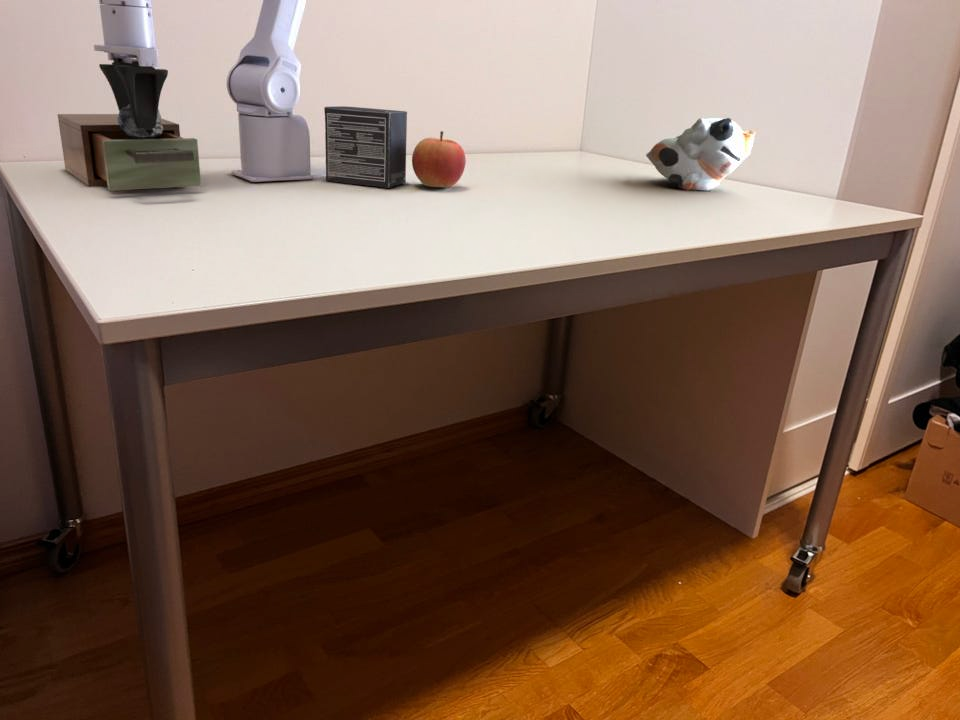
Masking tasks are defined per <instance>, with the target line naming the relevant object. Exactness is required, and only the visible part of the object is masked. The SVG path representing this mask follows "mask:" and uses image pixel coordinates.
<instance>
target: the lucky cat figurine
mask: <svg viewBox="0 0 960 720" xmlns="http://www.w3.org/2000/svg"><path fill="white" fill-rule="evenodd" d="M755 135H756V131H753V130H747V131H745V130H744V131H743V130H742V128H741V127H740V125H739V124H737V122H735V121H733V120H732V118H730V117H720V118H715V117H709V118H702V117H700V118H698V119H697V120H696V121H695V123H693V124H692V126H691V127H688V128H686V129H684V131H683V132H682V134H679V135H678V136H675V137H674V138H673V137H672V138H671V137H670V138H665V139H662V140H660V141H659V142H657V143H656V144H654V146H653V147H651V149H650V150H649V152H647V153H646V154H645V156H646V158H647V159H648V160H649V161H650V163H651V164H652V165H653V166H654V168H655V169H656V171H657V172H658V173H659V174H660V175H661V176H663V177H664V178H665V179H667V180H668V181H669V182H673V183H676V185H677V187H678V188H679V189H682V190H686V191H712V190H713V189H714V188H716V187H717V186H719V185H720V183H721V181H722V180H723V179H724V178H726V177H727V176H728V175H731V173H732V172H733V171H734V170H735V169H737V167H739V166H740V164H741V163H742V162H743V161H744V160H745V159H746V158H747V157H748V156H750V154H751V150H752V148H753V143H754V140H755Z"/></svg>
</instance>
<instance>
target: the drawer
mask: <svg viewBox="0 0 960 720" xmlns="http://www.w3.org/2000/svg"><path fill="white" fill-rule="evenodd" d="M146 132H153V131H146ZM88 135H89V142H90V150H91V157H92V165H93V173H94V174H96V175H97V176H99V177H100V178H102V179H104V180H105V181H107V189H108V190H109V191H111V192H112V191H127V190H128V191H129V190H148V189H163V188H165V189H166V188H167V189H168V188H184V187H201V186H202V183H201V182H202V181H201V169H200V156H199V155H200V154H199V144H198V139H197V138H195V137H185V138H184V137H182V136H180V137H179V136H177V135H174V134H171V133H169V132H166V131H162V134H161V135H155V136H153V137H142V138H141V137H135V136H129V135H127V134H126V133H125V131H88Z"/></svg>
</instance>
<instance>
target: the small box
mask: <svg viewBox="0 0 960 720" xmlns="http://www.w3.org/2000/svg"><path fill="white" fill-rule="evenodd" d="M323 110H324V129H325V133H324V134H325V135H324V138H325V181H326V182H334V183H341V184H348V185H349V184H351V185H358V186H367V187H377V188H384V189H389V188H393V187H395V186H399V185H402V184H406V182H407V181H406V180H407V179H406V178H407V131H408V129H407V128H408V111H407V110H394V109H381V108H370V107H358V106H344V105H343V106H341V105H340V106H324V109H323Z"/></svg>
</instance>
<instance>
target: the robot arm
mask: <svg viewBox="0 0 960 720" xmlns="http://www.w3.org/2000/svg"><path fill="white" fill-rule="evenodd" d="M98 4H99V12H100V18H101V27H102V35H103V43H104V44H93V50H94V51H95V52H103V53H106V54H107V60H108V61H111V64H110V63H99V64H98V66H99V69H100V71H101V72H102V73H103V75H104V76H105V79H106V80H107V83H108V84H109V86H110V88H111V91H112V93H113V96H114V99H115V103H116V106H117V109H118V113H119V112H120V110H121V108H122V107H127V105H129V104H130V107H131V111H132V115H133V119H134V122H135V124H136V127H137V128H155V127H156V122H157V114H158V109H159V104H160V98H161V95H162V90H163V87H164V84H165V82H166V80H167V78H168V75H169V69H165V68H158V67H159V66H160V65H159V48H158V47H157V46H156V35H155V25H154V16H153V15H154V14H153V4H152V0H98ZM306 4H307V0H263V1H262V4H261V7H260V11H259V16H258V18H257V19H258V20H257V23H256V27H255V31H254V35H253V37H252V38H251V39H250V40H249V41H248V42H247V43H246V44H245V45H244V47H243V48H241V49H240V51H239V56H238V58H237V60H236V62H235V64H234V65H233V66H232V67H231V68H230V70H229V71H228V74H227V77H226V90H227V93H228V95H229V98H230V99H231V101H233V103H234V104H236V112H237V113H238V114H237V118H238V119H237V120H238V134H239V151H240V152H239V153H240V168H241V169H234V170H231V175H233V176H237V177H239V178H241V179H243V180H245V181H248V182H250V183H258V182H262V183H263V182H279V181H282V182H283V181H299V180H300V181H301V180H313V179H314V176H313V175H312V174H311V173H312V172H311V137H310V136H311V134H310V130H309V126H308V123H307V121H306V119H305V118H304V116H302V115H299V114H293V110H294V109H295V108H296V106H297V105H298V103H299V101H300V96H301V85H300V75H301V70H302V63H301V62H300V61H299V59H298V57H297V55H296V54H295V51H294V48H295V45H296V41H297V38H298V33H299V30H300V26H301V23H302V19H303V15H304V11H305V7H306Z"/></svg>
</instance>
